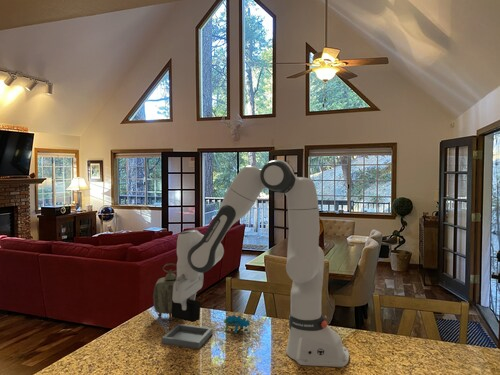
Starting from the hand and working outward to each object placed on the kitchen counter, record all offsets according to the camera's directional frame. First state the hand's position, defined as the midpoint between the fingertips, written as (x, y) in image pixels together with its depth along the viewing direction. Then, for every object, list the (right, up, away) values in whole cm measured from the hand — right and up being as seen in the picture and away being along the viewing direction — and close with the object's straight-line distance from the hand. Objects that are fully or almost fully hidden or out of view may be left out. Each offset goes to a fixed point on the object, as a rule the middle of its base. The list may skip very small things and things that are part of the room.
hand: (188, 306), depth 147 cm
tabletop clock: (-11, -13, +21) cm, 27 cm away
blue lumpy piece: (+18, -13, +10) cm, 25 cm away
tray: (0, -13, +1) cm, 13 cm away
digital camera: (-1, -5, -1) cm, 5 cm away
